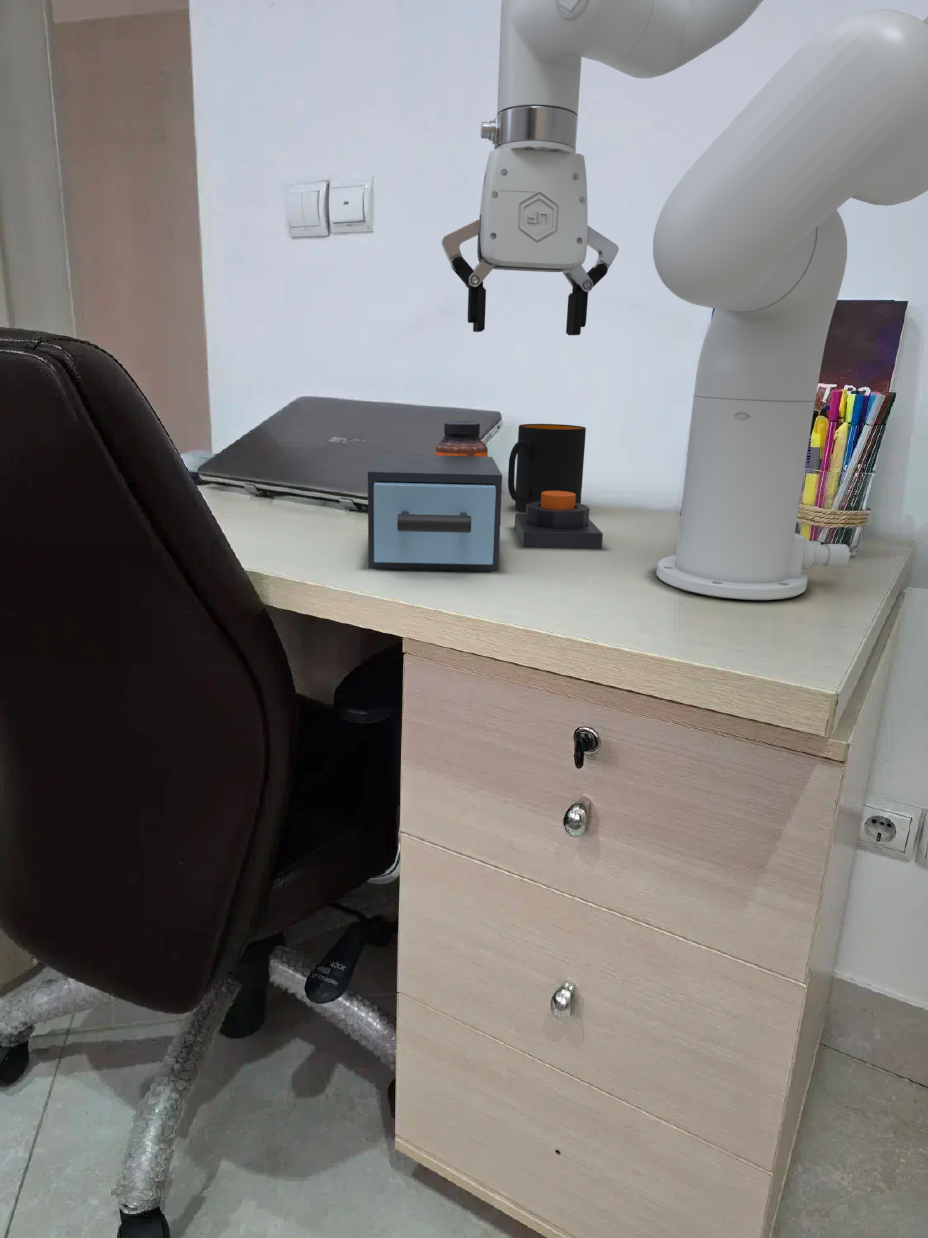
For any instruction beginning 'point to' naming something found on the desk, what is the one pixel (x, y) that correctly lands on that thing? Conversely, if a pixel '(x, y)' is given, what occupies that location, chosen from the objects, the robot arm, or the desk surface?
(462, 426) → the supplement bottle
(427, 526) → the light blue drawer
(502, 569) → the desk surface
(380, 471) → the drawer cabinet
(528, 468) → the mug
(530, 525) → the panel
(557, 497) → the release button
